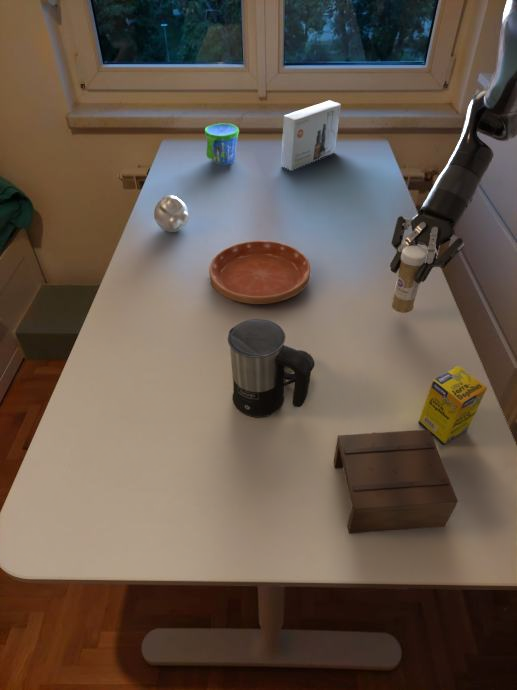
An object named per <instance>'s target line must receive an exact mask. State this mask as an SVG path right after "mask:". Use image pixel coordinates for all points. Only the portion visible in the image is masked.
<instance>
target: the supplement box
mask: <svg viewBox="0 0 517 690" xmlns="http://www.w3.org/2000/svg"><path fill="white" fill-rule="evenodd" d="M487 389H488V387H487V386H486V385H485V384H483V383H482V382H481V381H480V380H478V379H477V378H475V377H474V376H473V375H471V374H470V373H469V372H468V371H466V370H465V369H464V368H462V366H460V365H456V366H455V367H453V368H452V369H450V370H449V371H446V372H445V373H442V374H441V375H439V376H437V377H435V378H434V379H432V382H431V384H430V388H429V390H428V393H427V396H426V399H425V401H424V405H423V408H422V410H421V413H420V416H419V419H418V422H417V424H418V425H419V426H421V427H422V428H423V430H430V432H431V435H432V437H433V439H434V440H436V441H437V442H439V444H441V446H442V447H443V446H444V447H445V446H446V445H448V444H450V443H451V441H453V440H455V439H457V438H458V437H459V436H461V435H463V434H464V433H466V432H467V431H469V428H470V426H471V424H472V422H473V419H474V418H475V415H476V413H477V411H478V409H479V406H480V404H481V403H482V400H483V398H484V395H485V393H486V391H487Z"/></svg>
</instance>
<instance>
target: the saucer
mask: <svg viewBox="0 0 517 690" xmlns="http://www.w3.org/2000/svg"><path fill="white" fill-rule="evenodd" d="M208 268H209V269H208V273H209V280H210V283H211V284H212V286H213V288H214V290H216V291H217V292H218V293H219V294H221V295H222V296H223V297H225V298H228V299H229V300H232V301H236V302H239V303H243V304H249V305H251V304H252V305H267V304H274V303H279V302H282V301H286V300H288V299H291V298H293V297H294V296H296V295H298V294H299V293H300V292H302V291H303V290H304V289H305V288H306V286H307V285H308V283H309V281H310V276H311V264H310V261H309V259H308V258H307V257H306V255H305V254H304V253H303V252H301V251H300V250H298V249H297V248H295V247H293V246H291V245H288V244H285V243H281V242H277V241H271V240H254V241H253V240H252V241H246V242H241V243H237V244H234V245H231V246H228V247H226V248H224V249H223V250H221V251H220V252H219V253H217V254H216V255H215V256H214V257H213V259H212V260H211V261H210V264H209V267H208Z"/></svg>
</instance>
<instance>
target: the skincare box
mask: <svg viewBox="0 0 517 690" xmlns="http://www.w3.org/2000/svg"><path fill="white" fill-rule="evenodd" d="M341 109H342V104H341V103H339V102H337V101H336V102H335V101H333V100H331V99H330V100H327V101H324V102H321V103H318V104H314V105H312V106H308V107H305V108H303V109H300V110H296V111H293V112H290V113H288V114H284V115H283V124H282V137H281V138H282V140H281V141H282V142H281V156H280V158H281V159H280V166H281V167H282V166H283V167H282V168H284V167H285V168H284V169H286V168H287V169H286V170H288V169H289V171H290V170H292V169H295V168H297V169H299V168H298V167H300V166H302V165H304V164H307V163H309V162H312V161H314V160H317V159H319V158H322V157H324V156H327V155H329V154H331V153H334V152H335V153H336V145H337V140H338V131H339V124H340V123H339V122H340V117H341V116H340V115H341ZM335 153H334V154H335ZM331 155H332V154H331ZM329 156H330V155H329ZM327 157H328V156H327ZM324 158H325V157H324ZM322 159H323V158H322ZM319 160H320V159H319ZM317 161H318V160H317ZM314 162H315V161H314ZM312 163H313V162H312ZM309 164H310V163H309ZM307 165H308V164H307ZM304 166H305V165H304ZM302 167H303V166H302ZM300 168H301V167H300ZM295 170H296V169H295ZM292 171H293V170H292Z"/></svg>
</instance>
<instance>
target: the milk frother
mask: <svg viewBox="0 0 517 690" xmlns="http://www.w3.org/2000/svg"><path fill="white" fill-rule="evenodd" d="M227 334H228V335H227V344H228V346H229V351H230V359H231V361H230V362H231V373H232V383H233V384H232V385H233V386H232V387H233V388H232V389H233V392H232V402H233V405H234V407H235V408H236V410H237V411H239V412H240V413H241V414H243V415H245V416H247V417H252V418H263V417H268V416H272V415H273V414H275V413H276V412H278V410H279V409H280V408H281V407H282V406H283V404H284V402H285V401H284V400H285V388H286V387H287V386H289V385H292V384H293V383H294V386H293V393H292V406H293V407H295V408H301V407H303V405H304V404H305V402H306V400H307V397H308V393H309V392H308V391H309V386H310V382H311V374H312V371H313V370H314V368H315V360H314V358H313V356H312V354H310V353H309V352H307V351H305V350H301V349H296V348H292V347H290V346H287V345H285V343H286V333H285V331H284V329H283V328H282V327H281V326H280V325H279V324H278V323H276V322H274V321H272V320H268V319H266V318H265V319H264V318H250V319H247V320H242V321H240V322H238V323H236V325H234V326H233V327H231V328H230V329H229V331H228V333H227ZM286 368H288V369H289V370H291V371H292V372H293V373H292V372H291V373H290V372H286V370H285V369H286Z"/></svg>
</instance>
